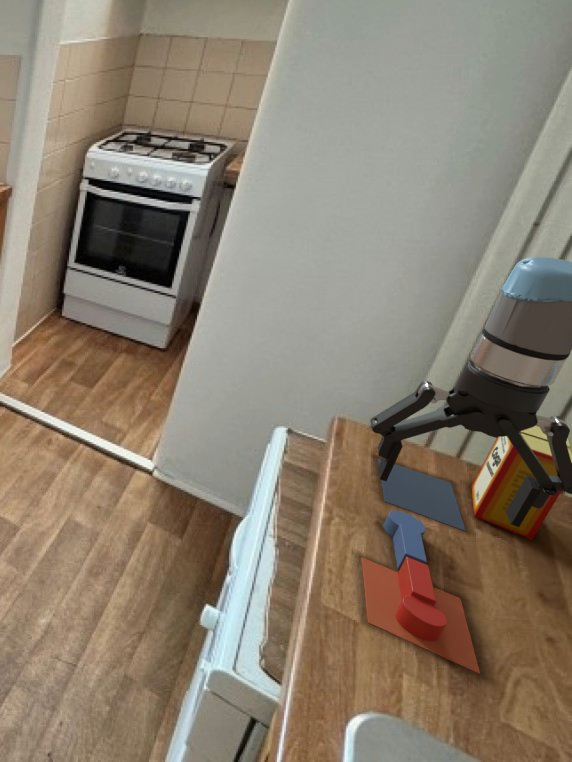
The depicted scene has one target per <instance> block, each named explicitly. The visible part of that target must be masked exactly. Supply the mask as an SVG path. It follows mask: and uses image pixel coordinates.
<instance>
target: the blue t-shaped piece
mask: <svg viewBox="0 0 572 762" xmlns="http://www.w3.org/2000/svg"><path fill="white" fill-rule="evenodd" d="M382 527H383V529H384V531H385V532H386V533H387V534H388V535H389V536H390V537H391V538H392V543H393V548H394V549H393V550H394V555H395V561H396V566H397V567H396V568H397V569H398V570H400V568H401V567H402V565H403V563H404V561H405V559H406V557H408V558H411V559H413V560H416V561H418V562H421V563H423V564H426V565H427V563H428V561H427V555H426V552H425V547H424V542H423V537H424V536H425V533H426V531H427V529H426V526H425V524H424V523H423V522H422V521H421V520H419V519H418V518H416V517H415V516H413V515H412V514H409V513H407V512H404V511H400V510H391V511H389V512H388V514H387V516H386V519H385V520H384V523H383V524H382Z"/></svg>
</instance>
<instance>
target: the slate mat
mask: <svg viewBox="0 0 572 762" xmlns="http://www.w3.org/2000/svg"><path fill="white" fill-rule="evenodd" d="M381 460H382V458H377V462H378V465H379V464H380V462H381ZM380 481H381V487H382V493H383V500H384V502H385V503H388V504H390V505H393V506H395V507H399V508H401V509H404V510H406V511H408V512H412V513H413V514H417V515H420V516H423V517H425V518H427V519H431V520H434V521H436V522H439V523H442V524H444V525H447V526H449V527H452V528H455V529H457V530H461V531H463V532H466V531H467V530H466V527H465V523H464V520H463V516H462V514H461V509H460V507H459V504H458V500H457V497H456V494H455V490H454V488H453V484H452V482H449V481H446V480H444V479H440V478H437V477H434V476H432V475H429V474H426V473H423V472H420V471H416V470H414V469H411V468H407V467H405V466H401V465H399V464H397V463H395V464H394V466H393V468H392V471H391V473H390V475H389V477H388V479H387V481H383V480H381V479H380Z"/></svg>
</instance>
